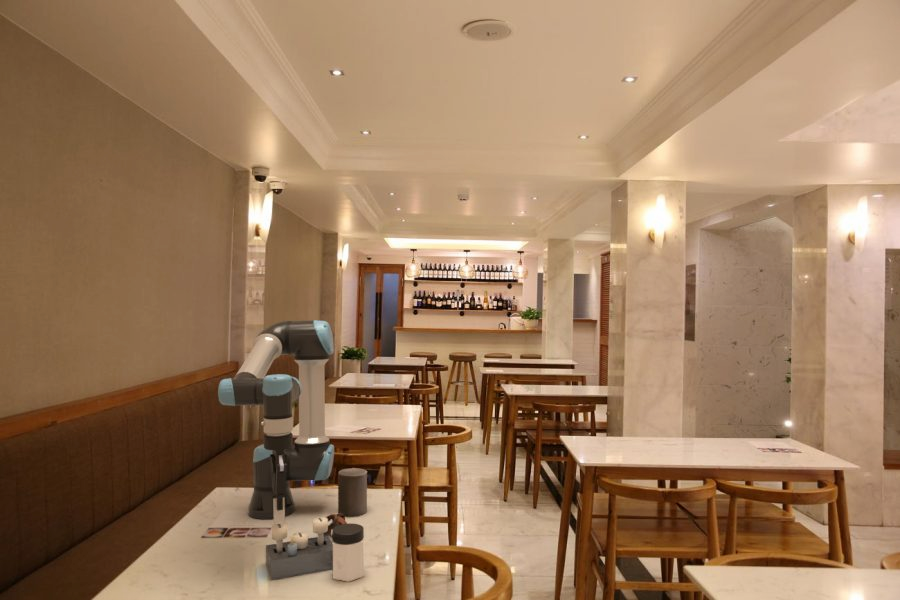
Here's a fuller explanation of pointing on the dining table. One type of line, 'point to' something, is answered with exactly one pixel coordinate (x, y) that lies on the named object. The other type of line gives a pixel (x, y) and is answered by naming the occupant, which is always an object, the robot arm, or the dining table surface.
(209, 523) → the dining table surface
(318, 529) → the knob right
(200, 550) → the dining table surface
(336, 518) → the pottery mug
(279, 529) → the knob left
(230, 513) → the dining table surface
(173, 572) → the dining table surface
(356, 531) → the jar
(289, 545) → the potentiometer
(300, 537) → the knob middle
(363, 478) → the pillar candle
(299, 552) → the panel
